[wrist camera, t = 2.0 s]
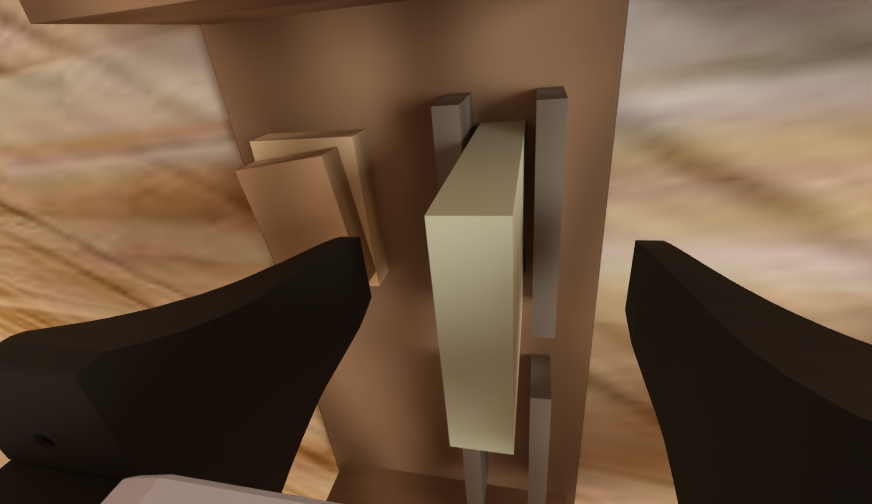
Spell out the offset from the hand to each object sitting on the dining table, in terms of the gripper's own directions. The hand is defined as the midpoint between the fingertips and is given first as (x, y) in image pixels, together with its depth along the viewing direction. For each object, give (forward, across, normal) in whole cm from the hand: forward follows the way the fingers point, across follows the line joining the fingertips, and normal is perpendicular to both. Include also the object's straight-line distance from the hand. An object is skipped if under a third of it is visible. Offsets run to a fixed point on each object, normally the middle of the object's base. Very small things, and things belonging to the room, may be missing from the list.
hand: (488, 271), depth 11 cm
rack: (+6, +3, +5) cm, 9 cm away
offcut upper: (+4, +7, 0) cm, 8 cm away
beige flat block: (+5, 0, 0) cm, 5 cm away
